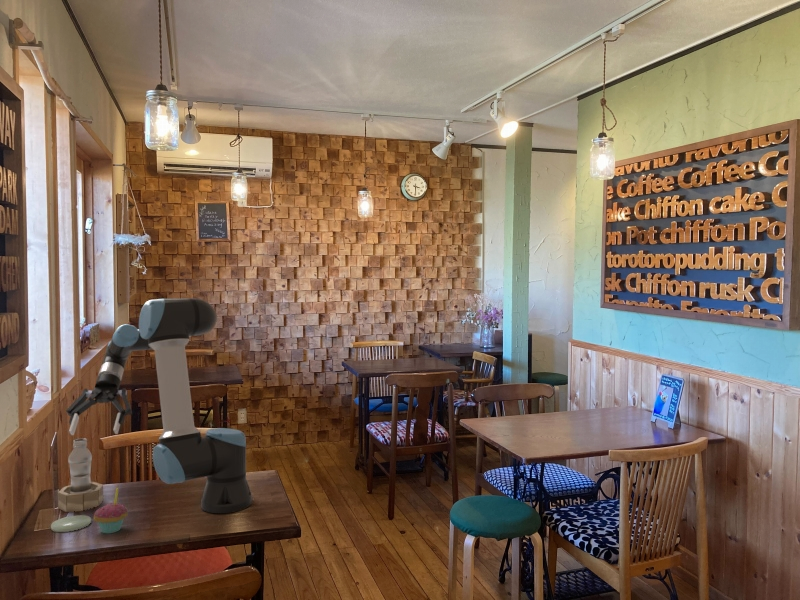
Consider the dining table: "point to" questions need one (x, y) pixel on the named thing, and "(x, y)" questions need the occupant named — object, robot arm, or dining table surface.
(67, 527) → the sage coaster
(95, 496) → the birch collar
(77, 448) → the plastic bottle
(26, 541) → the dining table surface
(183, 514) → the dining table surface
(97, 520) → the cupcake
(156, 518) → the dining table surface
